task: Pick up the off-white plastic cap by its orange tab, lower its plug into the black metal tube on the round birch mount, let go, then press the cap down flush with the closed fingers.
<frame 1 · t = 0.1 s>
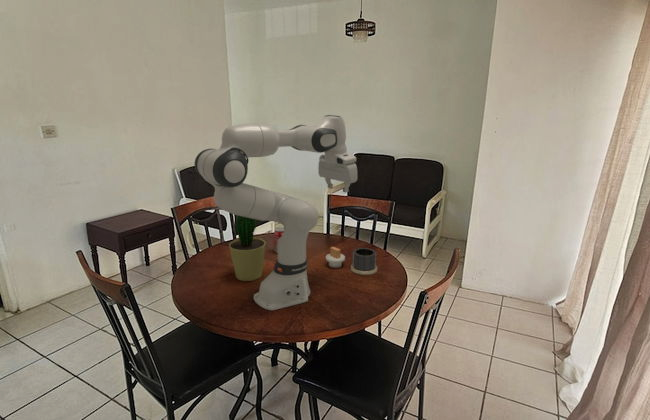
hand: (337, 190, 150), 39 cm above the table, tool pointing down, fingers open, 8 cm apart
potted cactus: (249, 275, 162), on the table
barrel: (363, 269, 168), on the table
cap: (335, 265, 173), on the table
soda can: (281, 251, 189), on the table
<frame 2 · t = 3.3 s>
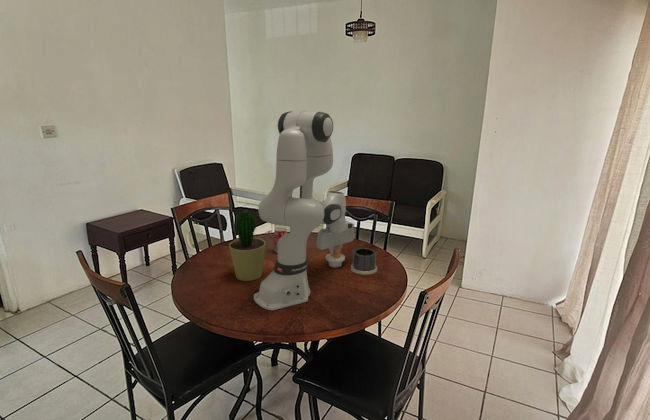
hand: (335, 253, 171), 6 cm above the table, tool pointing down, fingers closed on cap
cap: (335, 264, 173), on the table, touching gripper
everything else where it was.
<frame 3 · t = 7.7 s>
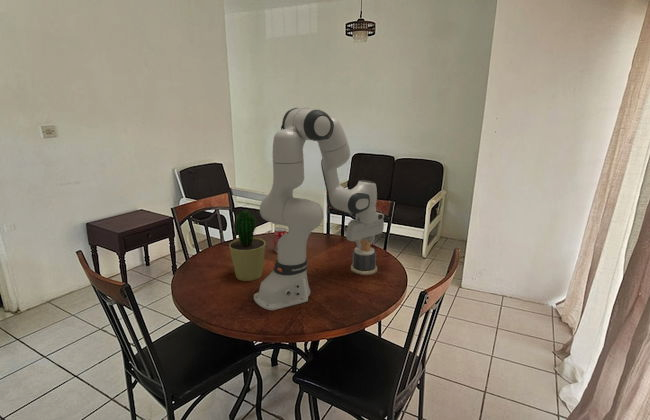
hand: (364, 246, 165), 11 cm above the table, tool pointing down, fingers open, 5 cm apart
cap: (364, 258, 167), point 5 cm above the table, touching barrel
everything else where it was.
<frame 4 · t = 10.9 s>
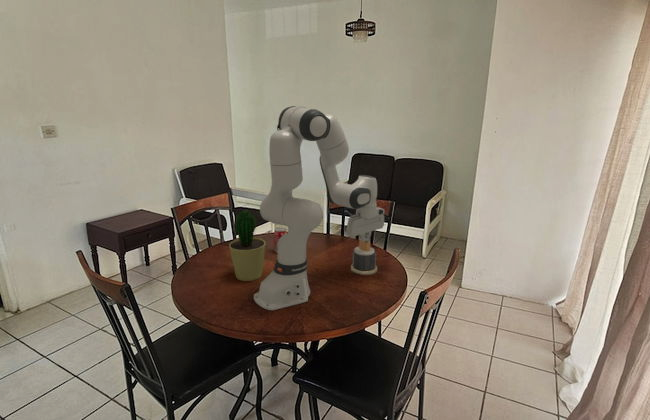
hand: (365, 241, 164), 14 cm above the table, tool pointing down, fingers closed, pressing on cap
cap: (364, 258, 167), point 5 cm above the table, touching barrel, gripper
everything else where it was.
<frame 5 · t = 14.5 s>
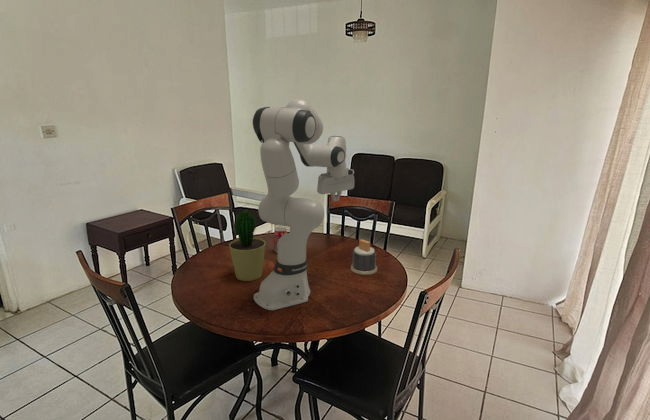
hand: (335, 200, 172), 29 cm above the table, tool pointing down, fingers closed
cap: (364, 258, 167), point 5 cm above the table, touching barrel
everything else where it was.
at the end: cap 0.1 cm off-centre on the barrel, point 5.5 cm above the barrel's base; cap tilted 0°; the gripper is holding nothing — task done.
